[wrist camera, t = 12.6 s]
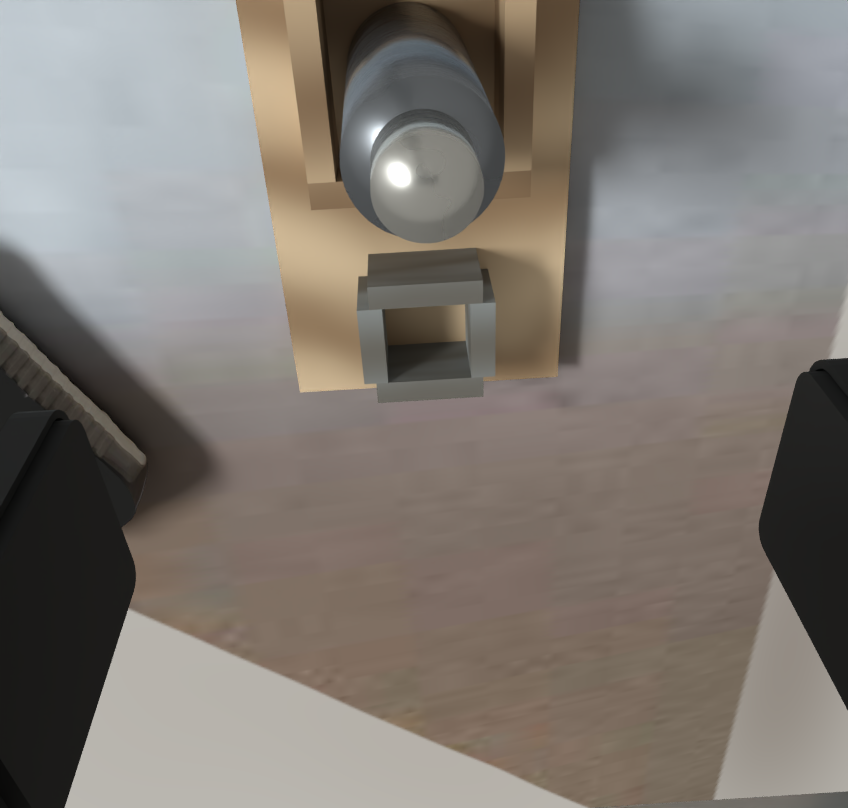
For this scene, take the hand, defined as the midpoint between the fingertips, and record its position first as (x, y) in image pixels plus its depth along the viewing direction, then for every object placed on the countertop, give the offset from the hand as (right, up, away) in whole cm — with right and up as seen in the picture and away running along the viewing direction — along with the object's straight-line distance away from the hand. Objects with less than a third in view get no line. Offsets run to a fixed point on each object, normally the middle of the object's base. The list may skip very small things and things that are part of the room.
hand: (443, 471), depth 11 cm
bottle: (-1, +13, +19) cm, 23 cm away
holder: (-1, +10, +22) cm, 25 cm away
